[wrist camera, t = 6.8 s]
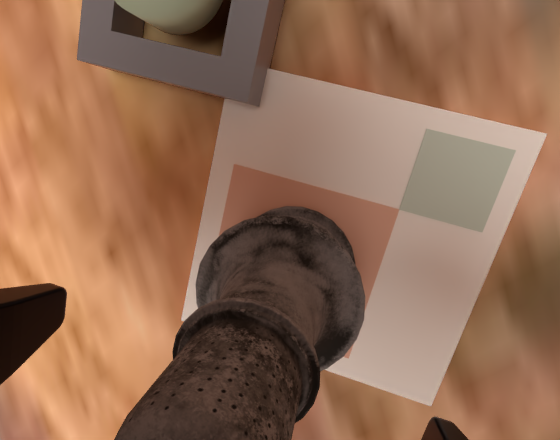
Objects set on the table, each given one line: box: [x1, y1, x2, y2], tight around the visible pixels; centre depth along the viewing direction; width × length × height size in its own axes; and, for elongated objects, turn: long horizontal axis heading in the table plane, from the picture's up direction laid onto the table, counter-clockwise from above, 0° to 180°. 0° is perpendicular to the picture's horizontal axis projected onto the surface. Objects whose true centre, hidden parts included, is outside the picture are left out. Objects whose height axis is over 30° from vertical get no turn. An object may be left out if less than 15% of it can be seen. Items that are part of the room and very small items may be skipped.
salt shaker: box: [114, 206, 365, 440], centre depth 10 cm, size 6×6×12 cm
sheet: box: [181, 68, 547, 406], centre depth 15 cm, size 12×12×1 cm
